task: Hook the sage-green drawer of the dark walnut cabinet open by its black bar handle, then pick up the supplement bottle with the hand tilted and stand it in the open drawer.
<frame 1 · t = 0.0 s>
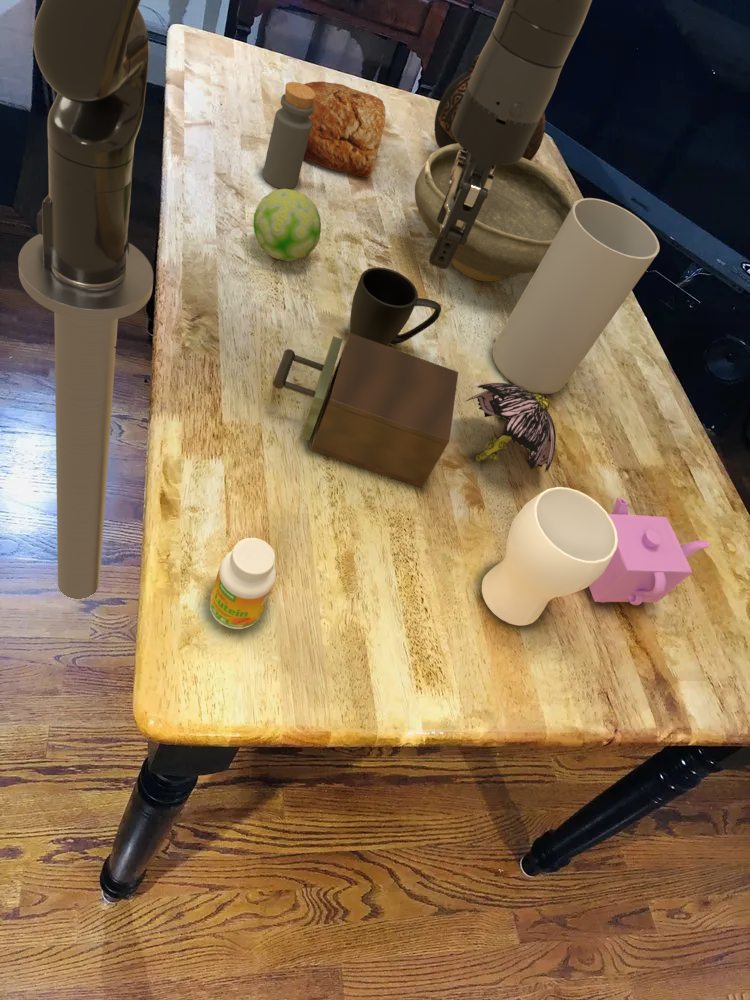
hand: (441, 243, 83), 25 cm above the table, tool pointing down, fingers open, 8 cm apart
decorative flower: (497, 450, 103), on the table
supplement bottle: (235, 607, 77), on the table
cabinet: (374, 434, 98), on the table
bowl: (471, 261, 130), on the table
ceramic vessel: (468, 173, 149), on the table
cylinder vase: (527, 367, 117), on the table
decorative ball: (280, 255, 114), on the table
bottle: (279, 180, 127), on the table
drawer: (349, 397, 93), point 5 cm above the table, slide at 0.5 cm
teapot: (607, 575, 96), on the table
cup: (510, 597, 89), on the table
mug: (380, 344, 109), on the table
bread: (323, 142, 139), on the table
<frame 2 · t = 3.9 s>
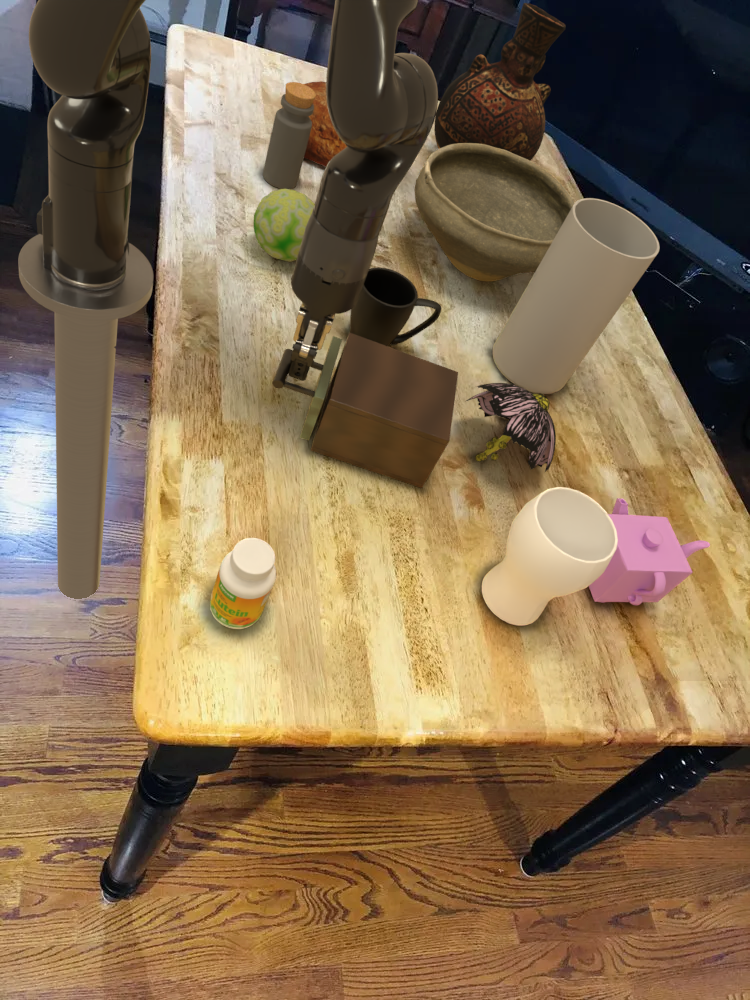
hand: (297, 375, 92), 5 cm above the table, tool pointing down, fingers closed
drawer: (348, 397, 93), point 5 cm above the table, slide at 0.5 cm, touching gripper
everything else where it was.
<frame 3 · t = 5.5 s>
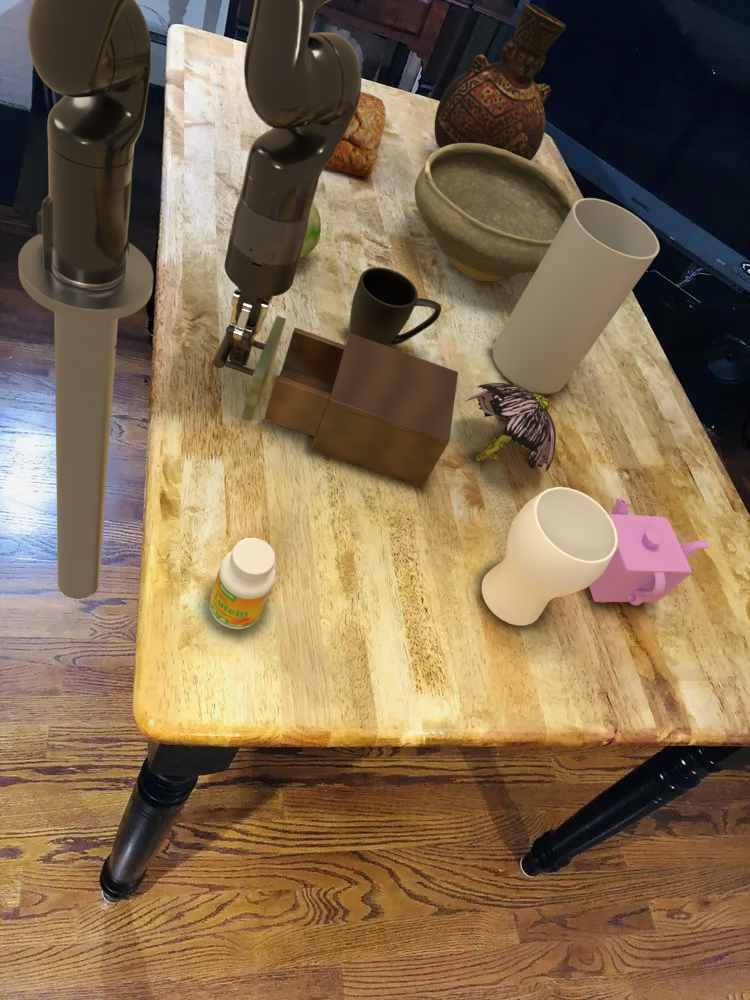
hand: (238, 360, 92), 4 cm above the table, tool pointing down, fingers closed
drawer: (292, 377, 92), point 5 cm above the table, slide at 7.8 cm, touching gripper
everything else where it was.
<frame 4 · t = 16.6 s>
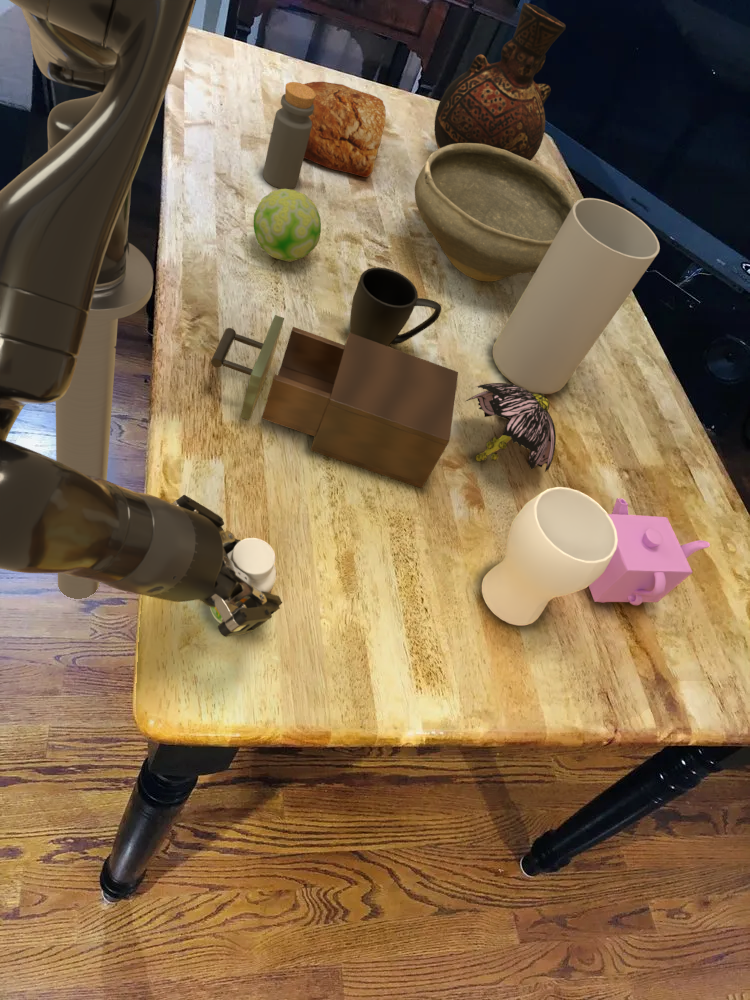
hand: (259, 580, 74), 4 cm above the table, tool tilted 45°, fingers closed on supplement bottle, 5 cm apart
supplement bottle: (235, 607, 77), on the table, touching gripper
drawer: (290, 377, 92), point 5 cm above the table, slide at 8.1 cm
everything else where it was.
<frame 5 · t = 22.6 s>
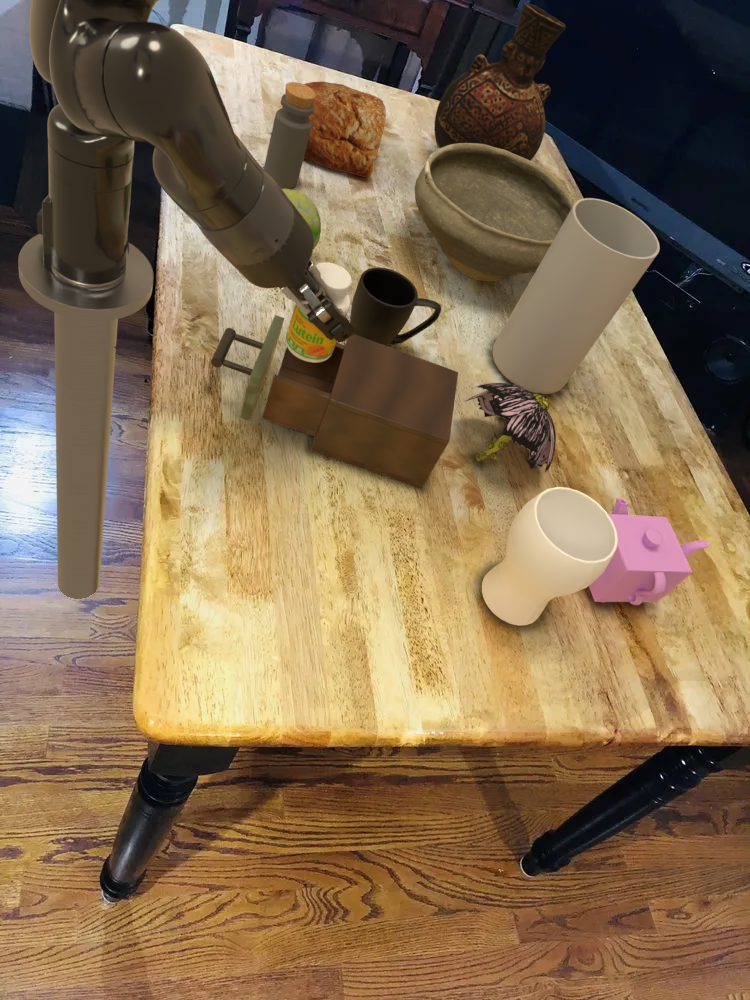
hand: (332, 315, 81), 18 cm above the table, tool tilted 45°, fingers closed on supplement bottle, 5 cm apart
supplement bottle: (308, 347, 83), point 13 cm above the table, touching gripper
everything else where it was.
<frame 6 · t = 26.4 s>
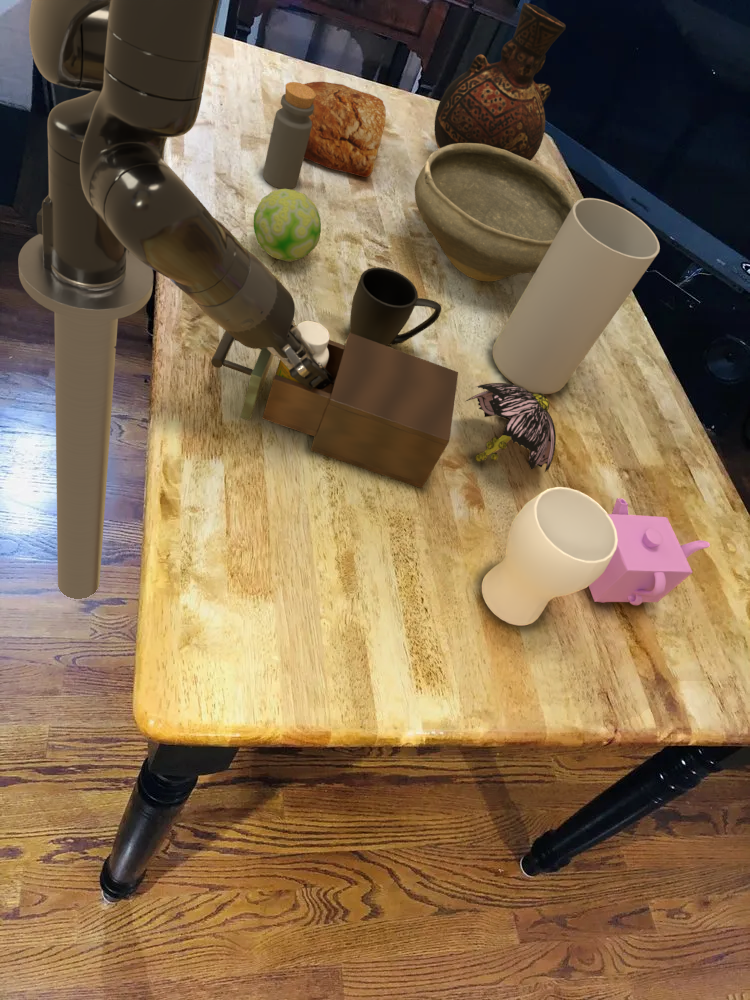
hand: (313, 364, 92), 7 cm above the table, tool tilted 45°, fingers closed on supplement bottle, 5 cm apart
supplement bottle: (292, 392, 94), point 2 cm above the table, touching gripper
everything else where it was.
when the fingers open (7 cm above the table, at t = 29.4 s): supplement bottle stays where it is, resting on drawer.
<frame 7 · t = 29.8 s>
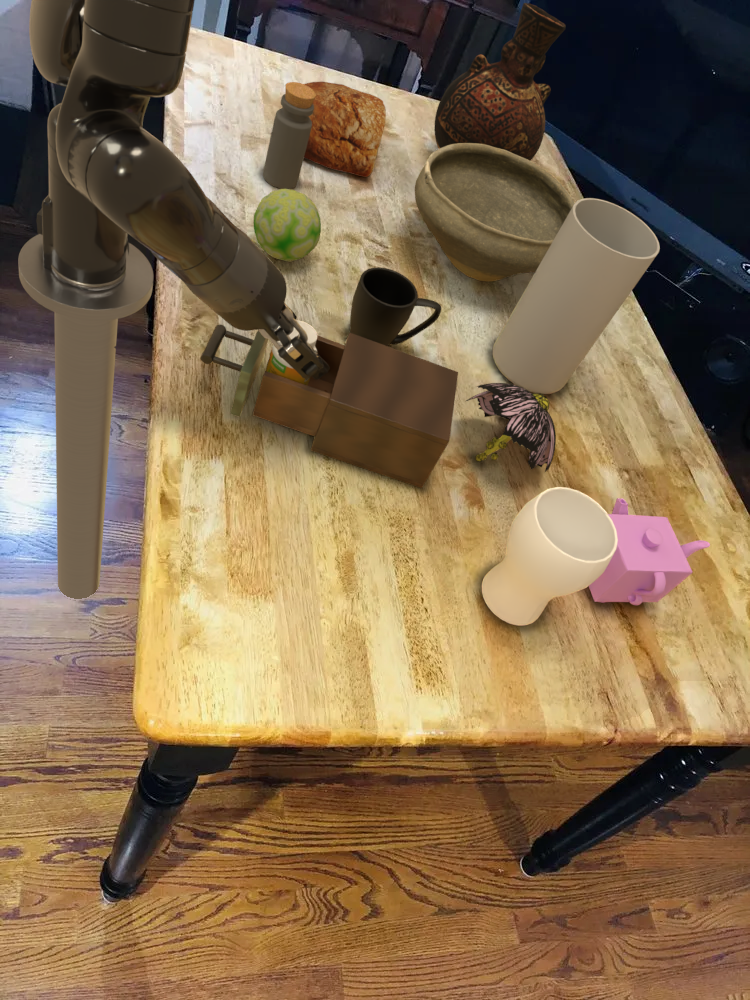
hand: (305, 346, 88), 10 cm above the table, tool tilted 45°, fingers open, 8 cm apart
supplement bottle: (282, 391, 94), point 2 cm above the table, touching drawer
drawer: (281, 373, 92), point 5 cm above the table, slide at 9.3 cm, touching supplement bottle
everything else where it was.
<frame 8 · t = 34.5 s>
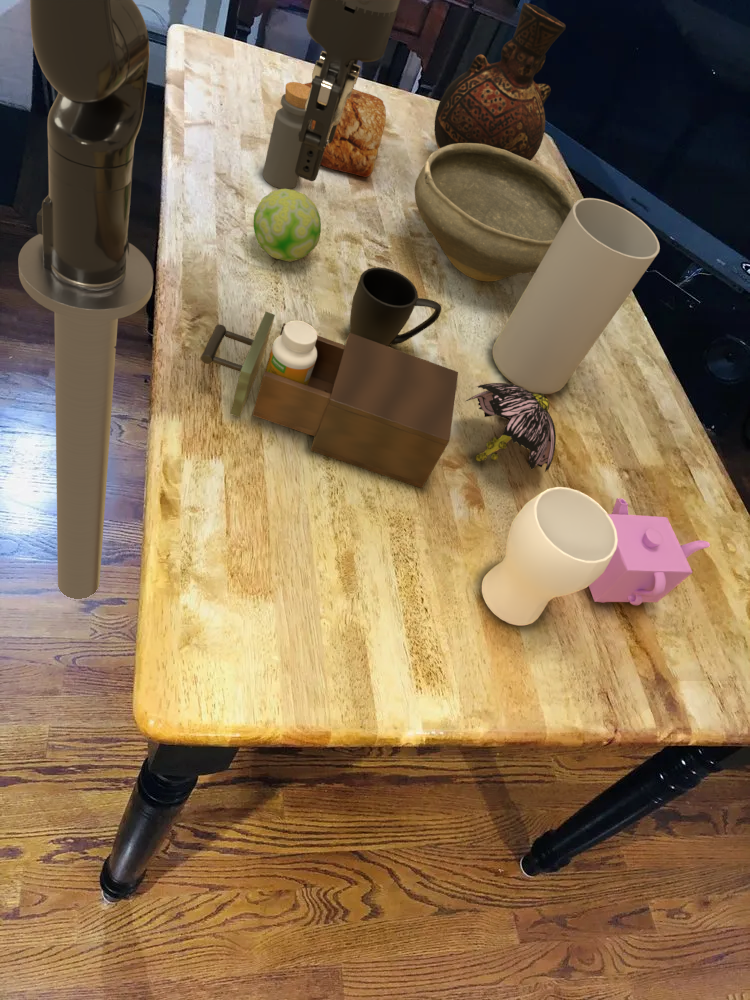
hand: (313, 157, 79), 28 cm above the table, tool pointing down, fingers open, 8 cm apart
nothing on the table moved.
at the end: drawer slide at 9.3 cm; supplement bottle inside the target area in the drawer (2.3 cm from its centre), point 1.8 cm above the cabinet's base; supplement bottle tilted 0° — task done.
